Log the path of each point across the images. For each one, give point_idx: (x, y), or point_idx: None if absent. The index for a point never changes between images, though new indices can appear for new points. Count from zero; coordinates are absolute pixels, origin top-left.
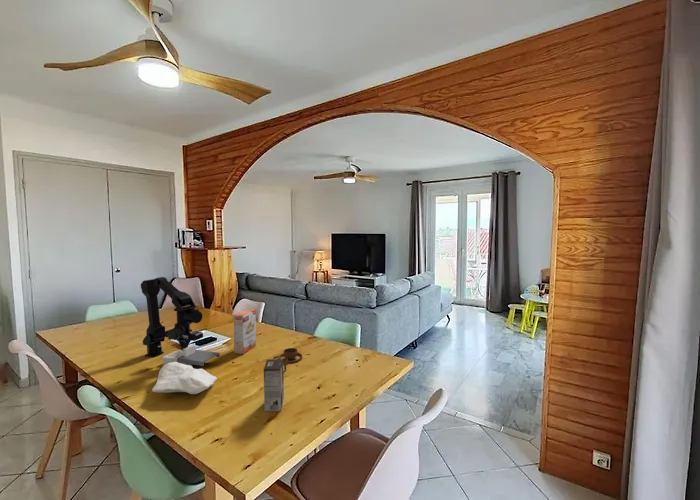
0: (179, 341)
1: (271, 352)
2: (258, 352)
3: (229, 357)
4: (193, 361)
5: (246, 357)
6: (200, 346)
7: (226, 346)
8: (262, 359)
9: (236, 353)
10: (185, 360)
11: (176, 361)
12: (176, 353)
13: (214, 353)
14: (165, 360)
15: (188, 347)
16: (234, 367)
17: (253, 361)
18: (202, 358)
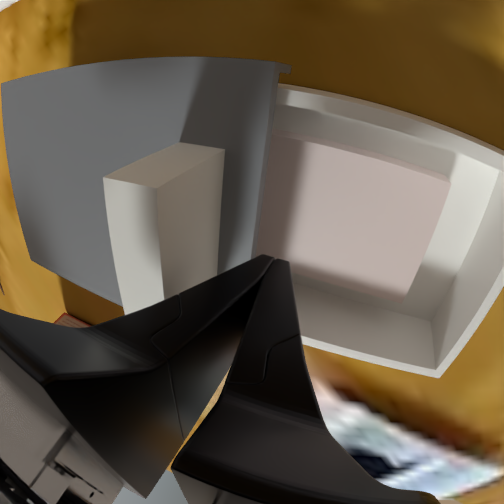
0: (263, 415)
1: (26, 314)
2: (49, 322)
3: (84, 288)
4: (61, 69)
5: (39, 280)
6: (346, 441)
7: (203, 415)
8: (2, 257)
9: (88, 325)
10: (140, 58)
11: (324, 93)
12: (448, 332)
13: (39, 247)
14: (500, 151)
15: (136, 271)
16: (4, 170)
17: (4, 239)
18: (28, 136)
